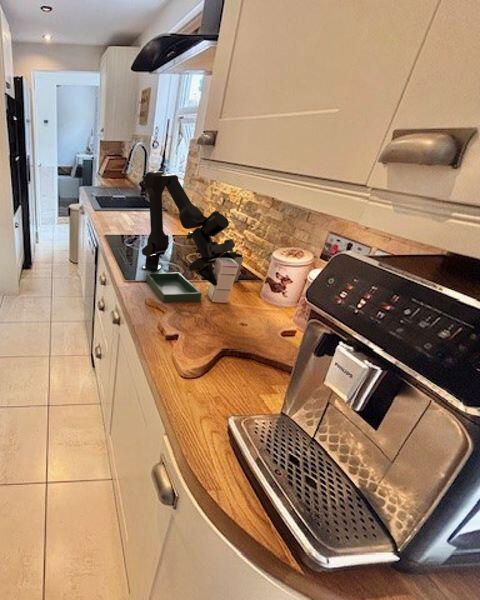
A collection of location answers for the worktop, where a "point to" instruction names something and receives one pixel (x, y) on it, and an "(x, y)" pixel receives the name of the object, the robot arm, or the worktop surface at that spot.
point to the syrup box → (222, 280)
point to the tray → (172, 287)
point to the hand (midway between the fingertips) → (223, 283)
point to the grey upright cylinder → (239, 262)
